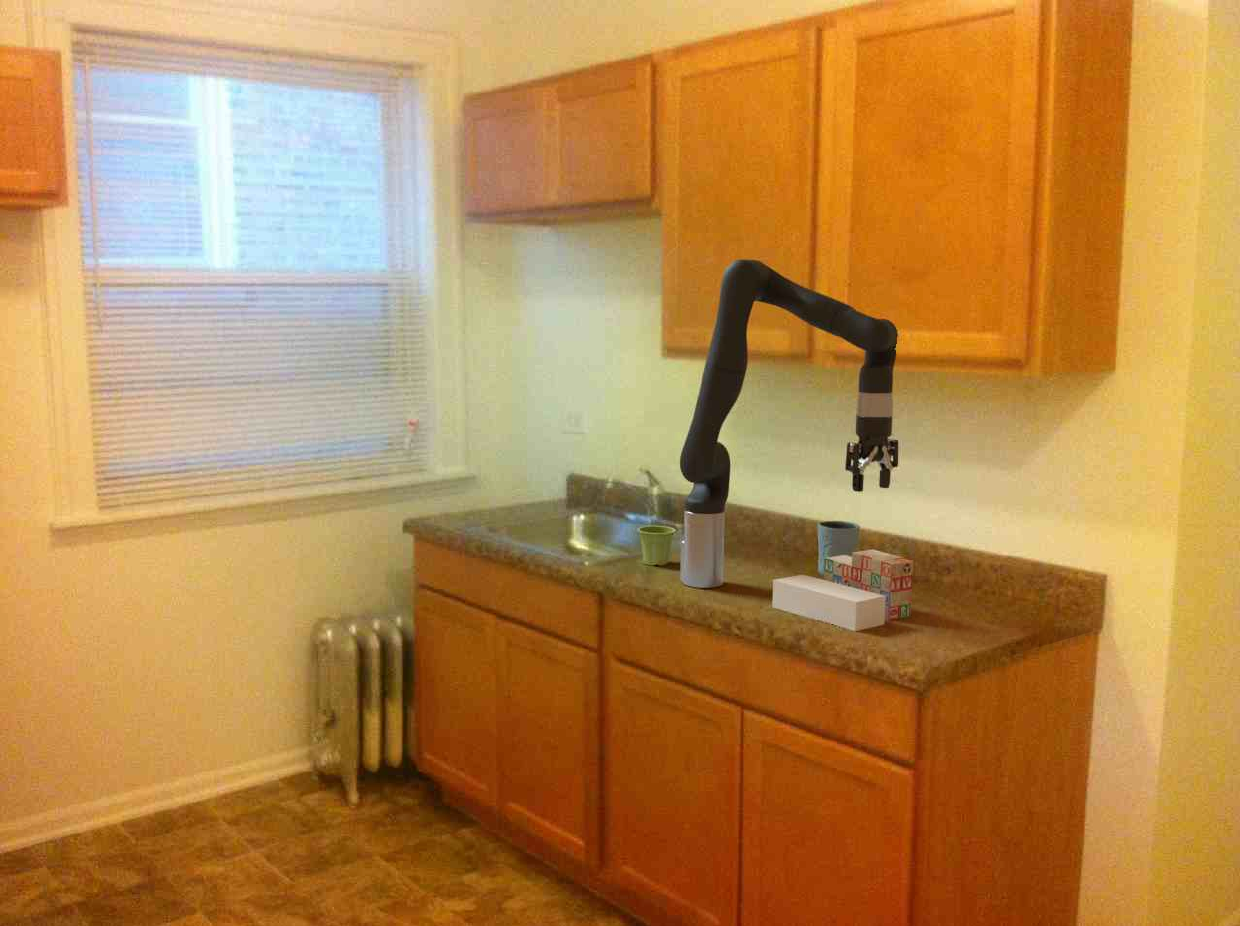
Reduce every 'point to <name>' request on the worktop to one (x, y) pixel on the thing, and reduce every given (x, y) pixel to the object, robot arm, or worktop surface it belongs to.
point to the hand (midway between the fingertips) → (871, 489)
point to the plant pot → (656, 544)
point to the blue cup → (836, 540)
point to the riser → (829, 602)
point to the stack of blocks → (875, 578)
